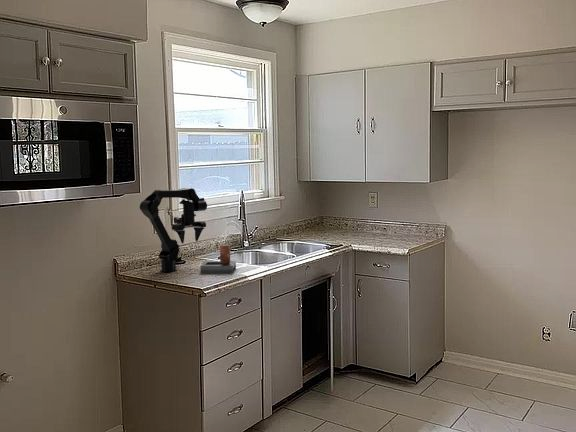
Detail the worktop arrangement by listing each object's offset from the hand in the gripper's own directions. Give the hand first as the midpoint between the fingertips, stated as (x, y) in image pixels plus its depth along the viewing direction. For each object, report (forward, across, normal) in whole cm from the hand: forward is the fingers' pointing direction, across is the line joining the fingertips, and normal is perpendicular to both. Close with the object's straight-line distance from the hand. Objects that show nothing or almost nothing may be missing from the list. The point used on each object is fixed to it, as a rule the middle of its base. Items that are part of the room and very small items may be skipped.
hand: (189, 242), depth 315 cm
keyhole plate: (+13, -2, +20) cm, 24 cm away
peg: (+13, -5, +22) cm, 26 cm away
